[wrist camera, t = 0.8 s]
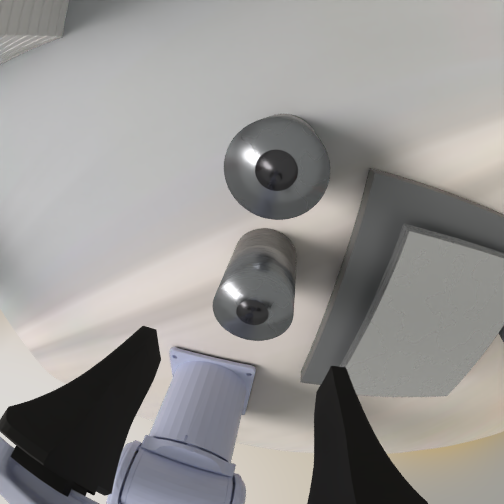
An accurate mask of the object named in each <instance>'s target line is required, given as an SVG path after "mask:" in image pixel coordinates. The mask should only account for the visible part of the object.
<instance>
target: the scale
mask: <svg viewBox="0 0 504 504" xmlns="http://www.w3.org/2000/svg"><path fill="white" fill-rule="evenodd" d="M403 223H405V224H408V225H412V226H416V227H420V228H423V229H427V230H431V231H434V232H438V233H441V234H445V235H448V236H451V237H455V238H458V239H461V240H465V241H468V242H471V243H474V244H478V245H481V246H484V247H487V248H490V249H493V250H496V251H499V252H502V253H504V215H503V214H501V213H498V212H496V211H494V210H491V209H489V208H487V207H484V206H482V205H480V204H477V203H475V202H472V201H470V200H467V199H464V198H462V197H459V196H457V195H454V194H451V193H448V192H446V191H443V190H440V189H437V188H434V187H431V186H428V185H425V184H422V183H419V182H416V181H413V180H410V179H407V178H403V177H400V176H397V175H393V174H390V173H386V172H383V171H379V170H375V169H372V168H370V170H369V174H368V178H367V182H366V186H365V190H364V193H363V197H362V201H361V204H360V208H359V212H358V215H357V219H356V222H355V225H354V229H353V232H352V235H351V239H350V242H349V245H348V248H347V251H346V254H345V258H344V261H343V264H342V267H341V270H340V273H339V276H338V278H337V281H336V284H335V287H334V290H333V293H332V295H331V298H330V301H329V304H328V306H327V309H326V312H325V314H324V317H323V320H322V322H321V325H320V327H319V330H318V332H317V335H316V337H315V340H314V342H313V345H312V347H311V350H310V352H309V354H308V357H307V359H306V362H305V364H304V366H303V369H302V371H301V382H302V383H309V384H317V385H321V384H322V382H323V380H324V378H325V376H326V375H327V373H328V371H329V369H330V367H331V366H338V367H339V366H340V365H341V363H342V361H343V359H344V357H345V355H346V354H347V352H348V350H349V348H350V346H351V344H352V342H353V340H354V338H355V336H356V334H357V332H358V330H359V328H360V326H361V324H362V322H363V320H364V318H365V316H366V314H367V312H368V310H369V308H370V306H371V303H372V301H373V299H374V297H375V295H376V292H377V290H378V288H379V285H380V283H381V281H382V278H383V276H384V274H385V271H386V269H387V266H388V264H389V261H390V259H391V256H392V254H393V251H394V248H395V246H396V243H397V240H398V238H399V235H400V232H401V229H402V226H403ZM499 335H500V337H501V338H502V340H503V342H504V325H503V327H502V328H501V330H500V331H499Z"/></svg>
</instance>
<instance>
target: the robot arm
mask: <svg viewBox="0 0 504 504" xmlns="http://www.w3.org/2000/svg"><path fill="white" fill-rule="evenodd" d="M170 360H171V367H172V375H173V379H172V381H171V384H170V386H169V388H168V391H167V393H166V395H165V398H164V400H163V402H162V405H161V407H160V410H159V412H158V414H157V417H156V419H155V422H154V424H153V427H152V429H151V431H150V434H149V436H148V435H145V438H144V440H143V442H142V443H141V442H139V441H136V440H135V441H133V442H131V443H128V444H126V445H125V447H124V443H125V440H126V438H127V434H128V432H129V429H130V426H131V424H132V422H133V420H134V417H135V415H136V414H137V412H138V410H139V408H140V406H141V404H142V402H143V400H144V398H145V396H146V394H147V392H148V390H149V388H150V386H151V384H152V382H153V380H154V378H155V375H156V372H157V369H158V367H159V364H160V361H161V357H160V351H159V345H158V338H157V331H156V329H152V328H149V327H145V326H142V327H141V328H140V329H138V330H137V331H136V332H135V333H134V334H133V335H132V336H131V337H129V338H128V339H127V340H126V341H125V342H124V343H123V344H121V345H120V346H119V347H118V348H117V349H115V350H114V351H113V352H112V353H111V354H109V355H108V356H107V357H106V358H104V359H103V360H102V361H101V362H99V363H98V364H96V365H95V366H94V367H92V368H91V369H90V370H88V371H87V372H85V373H84V374H82V375H81V376H79V377H78V378H76V379H74V380H73V381H71V382H69V383H68V384H66V385H64V386H62V387H60V388H58V389H56V390H54V391H52V392H50V393H48V394H45V395H43V396H41V397H38V398H36V399H34V400H30V401H27V402H24V403H21V404H17V405H14V406H10V407H8V408H7V410H6V411H5V413H4V415H3V416H2V418H1V419H0V432H1V433H3V434H4V435H5V436H6V437H7V438H8V439H9V440H11V441H12V442H13V443H14V444H15V445H16V447H15V448H13V447H12V446H10V445H9V444H8V443H7V442H6V441H5V440H3V439H2V438H1V437H0V494H1V495H2V496H3V497H4V498H5V499H6V500H7V502H8V503H9V504H99V503H97V502H95V501H93V500H91V499H89V498H87V497H85V496H86V493H87V492H88V493H90V494H92V495H95V492H98V493H100V494H102V495H108V498H107V502H106V504H244V503H245V497H246V488H245V484H244V482H243V481H242V478H241V476H240V475H239V474H235V473H234V470H235V466H236V465H235V464H232V463H231V459H232V455H233V450H234V446H235V442H236V437H237V433H238V428H239V424H240V419H241V415H244V414H245V412H246V408H247V404H248V400H249V396H250V392H251V388H252V384H253V380H254V376H255V372H256V368H255V367H254V366H252V365H247V364H242V363H237V362H232V361H228V360H223V359H219V358H215V357H210V356H206V355H202V354H198V353H194V352H190V351H187V350H183V349H179V348H175V347H172V348H171V349H170ZM123 447H124V448H123ZM307 504H428V503H427V501H426V500H425V499H423V498H422V497H421V496H420V495H419V494H418V493H417V492H416V491H415V490H414V489H413V488H412V486H411V485H410V484H409V483H408V482H407V481H406V480H405V478H404V477H403V476H402V475H401V473H400V472H399V471H398V470H397V468H396V467H395V466H394V464H393V463H392V462H391V460H390V458H389V457H388V456H387V454H386V452H385V451H384V449H383V448H382V446H381V444H380V443H379V441H378V439H377V437H376V435H375V434H374V432H373V430H372V428H371V426H370V424H369V422H368V420H367V417H366V415H365V413H364V411H363V409H362V406H361V404H360V402H359V399H358V397H357V394H356V392H355V390H354V387H353V384H352V382H351V379H350V376H349V374H348V371H347V369H346V367H338V366H331V367H330V369H329V371H328V373H327V375H326V376H325V378H324V380H323V382H322V384H321V385H320V387H319V389H318V391H317V394H316V402H315V412H314V468H313V476H312V482H311V488H310V493H309V498H308V503H307Z"/></svg>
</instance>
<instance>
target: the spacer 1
mask: <svg viewBox="0 0 504 504" xmlns="http://www.w3.org/2000/svg"><path fill="white" fill-rule="evenodd" d="M224 174H225V179H226V183H227V185H228V188H229V190H230V192H231V194H232V195H233V196H234V198H235V199H236V200H237V201H238V203H239V204H240V205H242V206H243V207H244V208H245V209H247V210H248V211H250V212H251V213H253V214H255V215H258V216H260V217H263V218H268V219H275V220H283V219H290V218H294V217H297V216H299V215H302V214H304V213H305V212H307V211H309V210H310V209H311V208H313V207H314V206H315V205H316V204H317V203H318V202H319V200H320V199H321V198H322V196H323V195H324V193H325V191H326V189H327V186H328V183H329V178H330V163H329V158H328V154H327V152H326V149H325V147H324V145H323V144H322V142H321V140H320V139H319V137H318V136H317V134H316V133H315V131H314V130H313V129H312V127H311V126H310V125H309V124H308V123H307V122H305V121H304V120H302V119H301V118H299V117H296V116H293V115H289V114H277V115H273V116H270V117H267V118H264V119H261V120H258V121H256V122H253V123H251V124H249V125H248V126H246V127H245V128H243V129H242V130H241V131H240V132H239V133H238V134H237V135H236V136H235V137H234V138H233V140H232V141H231V143H230V145H229V147H228V149H227V152H226V155H225V161H224Z"/></svg>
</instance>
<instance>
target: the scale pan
mask: <svg viewBox="0 0 504 504" xmlns="http://www.w3.org/2000/svg"><path fill="white" fill-rule="evenodd" d="M503 325H504V253H502V252H499V251H496V250H493V249H490V248H487V247H484V246H481V245H478V244H474V243H471V242H468V241H465V240H461V239H458V238H455V237H451V236H448V235H445V234H441V233H438V232H434V231H431V230H427V229H423V228H420V227H416V226H412V225H408V224H405V223H403V226H402V229H401V232H400V235H399V238H398V240H397V243H396V246H395V248H394V251H393V254H392V256H391V259H390V261H389V264H388V266H387V269H386V271H385V274H384V276H383V278H382V281H381V283H380V285H379V288H378V290H377V292H376V295H375V297H374V299H373V301H372V303H371V306H370V308H369V310H368V312H367V314H366V316H365V318H364V320H363V322H362V324H361V326H360V328H359V330H358V332H357V334H356V336H355V338H354V340H353V342H352V344H351V346H350V348H349V350H348V352H347V354H346V355H345V357H344V359H343V361H342V363H341V365H340V366H339V367H346V369H347V371H348V374H349V376H350V379H351V382H352V384H353V387H354V390H355V392H356V394H357V395H362V396H382V397H436V396H447V395H448V394H449V393H450V392H451V391H452V390H453V389H454V388H455V387H456V386H457V385H458V384H459V382H460V381H461V380H462V379H463V378H464V377H465V376H466V374H467V373H468V372H469V371H470V370H471V368H472V367H473V366H474V365H475V364H476V362H477V361H478V360H479V359H480V357H481V356H482V355H483V353H484V352H485V351H486V349H487V348H488V347H489V345H490V344H491V343H492V341H493V340H494V339H495V337H496V336H497V334H498V333H499V331H500V330H501V328H502V327H503Z"/></svg>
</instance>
